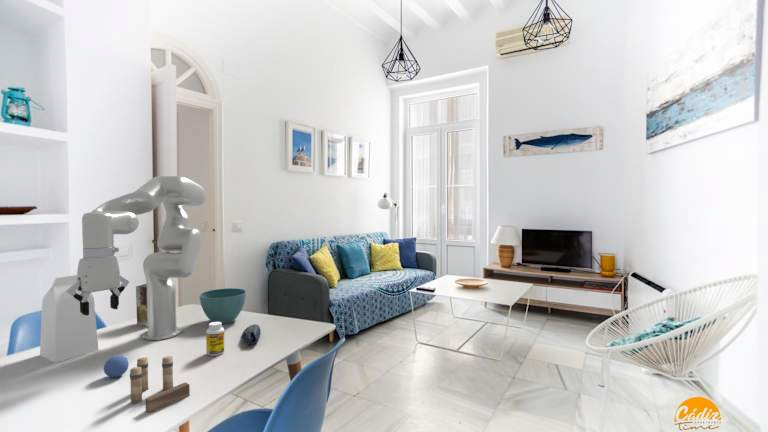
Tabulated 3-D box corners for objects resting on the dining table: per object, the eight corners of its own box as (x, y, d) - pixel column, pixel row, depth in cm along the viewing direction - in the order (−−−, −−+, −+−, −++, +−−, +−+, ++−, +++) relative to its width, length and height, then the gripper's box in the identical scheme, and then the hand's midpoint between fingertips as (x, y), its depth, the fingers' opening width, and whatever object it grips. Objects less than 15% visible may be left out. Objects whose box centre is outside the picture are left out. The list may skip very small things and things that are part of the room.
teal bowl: (212, 314, 174) (212, 287, 173) (252, 315, 173) (252, 288, 172) (191, 328, 155) (190, 297, 155) (236, 328, 155) (235, 298, 154)
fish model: (240, 349, 134) (240, 335, 134) (243, 330, 154) (243, 318, 154) (260, 347, 136) (260, 333, 136) (260, 329, 156) (260, 316, 156)
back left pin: (160, 389, 105) (160, 358, 105) (170, 385, 107) (169, 355, 107) (165, 391, 104) (165, 360, 103) (175, 387, 106) (174, 357, 105)
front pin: (135, 390, 104) (134, 359, 104) (145, 386, 106) (144, 356, 106) (140, 393, 103) (139, 361, 103) (150, 389, 105) (149, 358, 105)
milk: (82, 343, 138) (80, 271, 137) (98, 349, 132) (96, 274, 131) (39, 355, 128) (37, 277, 127) (55, 362, 122) (52, 281, 121)
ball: (100, 377, 112) (99, 357, 111) (122, 370, 117) (122, 350, 116) (109, 383, 108) (109, 362, 108) (132, 374, 114) (132, 354, 113)
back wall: (145, 410, 94) (145, 398, 94) (185, 393, 103) (185, 382, 103) (150, 413, 93) (149, 400, 93) (189, 395, 102) (189, 384, 102)
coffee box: (166, 322, 163) (165, 284, 162) (152, 326, 157) (151, 287, 156) (150, 319, 166) (149, 282, 165) (136, 324, 160) (135, 285, 159)
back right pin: (128, 402, 98) (127, 369, 98) (139, 397, 100) (138, 365, 100) (133, 405, 97) (132, 371, 96) (144, 400, 99) (143, 368, 99)
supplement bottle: (208, 357, 126) (207, 327, 126) (205, 352, 131) (204, 322, 130) (226, 354, 129) (225, 324, 129) (222, 348, 134) (222, 319, 133)
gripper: (124, 249, 126) (125, 303, 126) (57, 255, 111) (59, 316, 112) (136, 250, 122) (137, 306, 122) (68, 257, 107) (70, 321, 108)
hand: (100, 311), depth 117 cm, fingers open, 6 cm apart
